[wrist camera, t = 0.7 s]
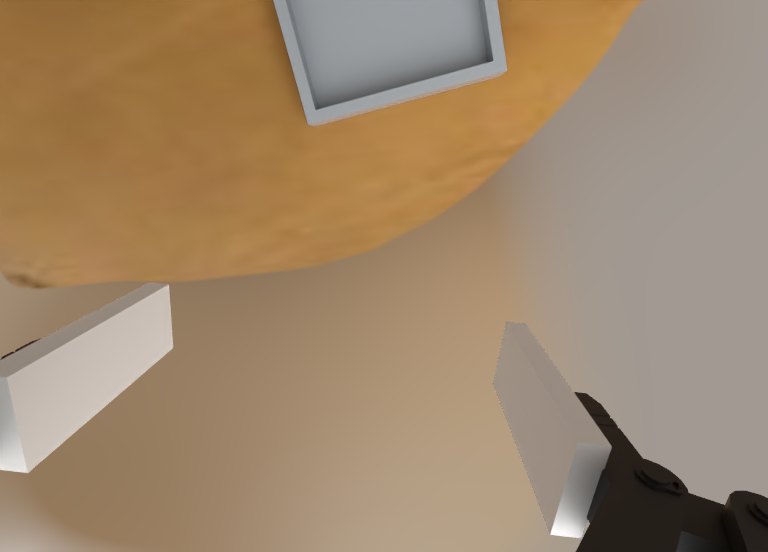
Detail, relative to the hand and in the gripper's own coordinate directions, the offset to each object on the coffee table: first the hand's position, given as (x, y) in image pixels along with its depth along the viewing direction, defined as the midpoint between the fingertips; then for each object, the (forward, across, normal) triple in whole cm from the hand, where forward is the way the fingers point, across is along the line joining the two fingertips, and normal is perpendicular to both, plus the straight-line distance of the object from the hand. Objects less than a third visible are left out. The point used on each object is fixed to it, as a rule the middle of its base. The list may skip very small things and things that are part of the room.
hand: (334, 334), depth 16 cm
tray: (+27, -1, +19) cm, 33 cm away
